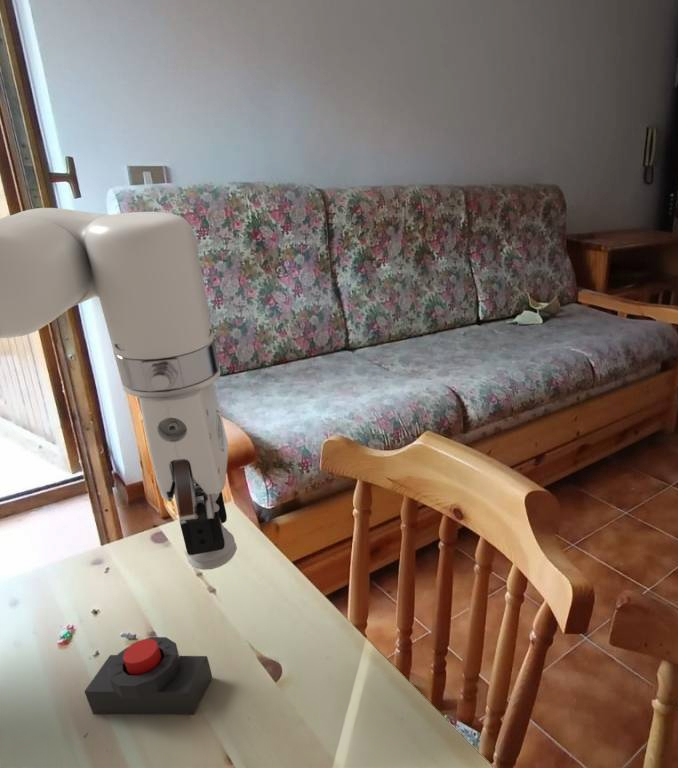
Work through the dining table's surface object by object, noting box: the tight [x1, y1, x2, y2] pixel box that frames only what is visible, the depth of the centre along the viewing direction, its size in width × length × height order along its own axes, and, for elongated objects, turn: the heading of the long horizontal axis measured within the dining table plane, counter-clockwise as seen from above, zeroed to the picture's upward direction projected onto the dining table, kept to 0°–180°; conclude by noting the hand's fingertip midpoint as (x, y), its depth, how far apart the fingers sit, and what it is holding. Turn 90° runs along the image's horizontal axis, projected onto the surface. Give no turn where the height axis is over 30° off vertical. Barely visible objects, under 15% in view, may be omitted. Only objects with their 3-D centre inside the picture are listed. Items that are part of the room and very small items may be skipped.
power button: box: [123, 638, 161, 675], centre depth 62 cm, size 3×3×2 cm
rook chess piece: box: [186, 484, 238, 571], centre depth 60 cm, size 4×4×8 cm
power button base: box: [84, 636, 213, 716], centre depth 63 cm, size 10×6×5 cm, turn 90°
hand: (208, 535), depth 61 cm, fingers closed on rook chess piece, 3 cm apart
